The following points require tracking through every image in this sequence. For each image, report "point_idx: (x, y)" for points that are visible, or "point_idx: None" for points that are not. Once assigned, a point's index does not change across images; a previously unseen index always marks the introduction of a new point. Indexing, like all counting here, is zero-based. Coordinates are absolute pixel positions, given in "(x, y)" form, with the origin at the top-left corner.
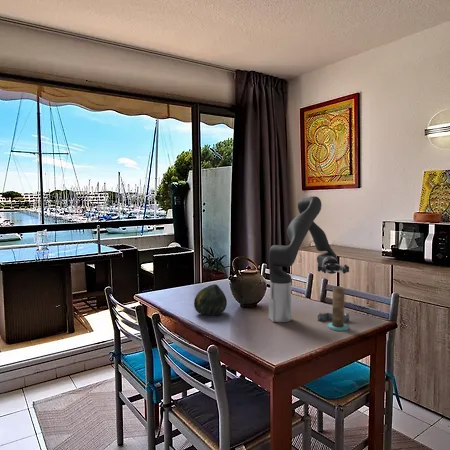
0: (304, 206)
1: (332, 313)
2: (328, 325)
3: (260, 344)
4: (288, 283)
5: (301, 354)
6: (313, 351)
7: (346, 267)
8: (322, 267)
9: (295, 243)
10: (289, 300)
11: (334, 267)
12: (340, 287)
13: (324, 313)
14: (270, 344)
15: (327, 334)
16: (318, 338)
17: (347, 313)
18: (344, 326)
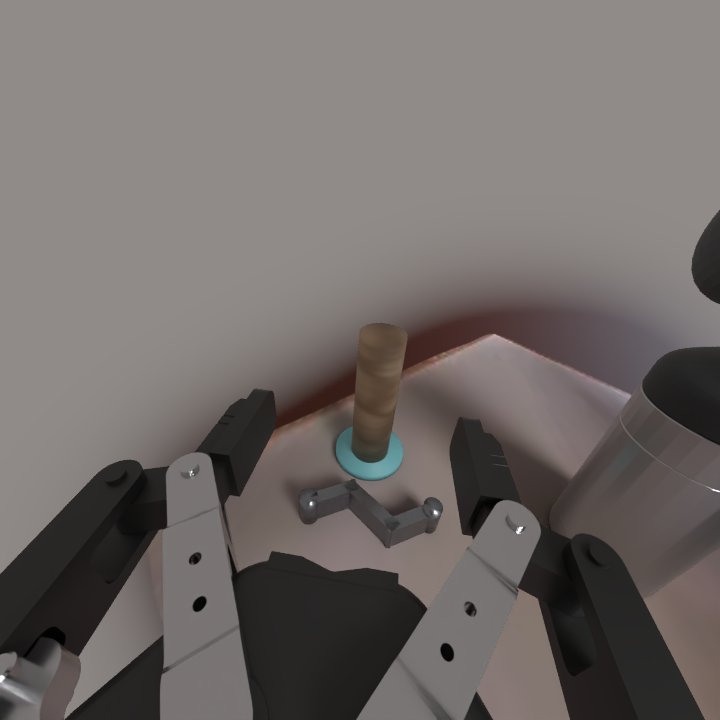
0: None
1: (392, 422)
2: (401, 448)
3: (548, 378)
4: (641, 382)
5: (461, 349)
6: (442, 355)
7: (137, 490)
8: (520, 513)
9: None
10: (591, 454)
11: (309, 566)
12: (373, 337)
13: (410, 519)
14: (529, 377)
15: (409, 410)
16: (433, 393)
17: (305, 501)
18: (351, 439)
